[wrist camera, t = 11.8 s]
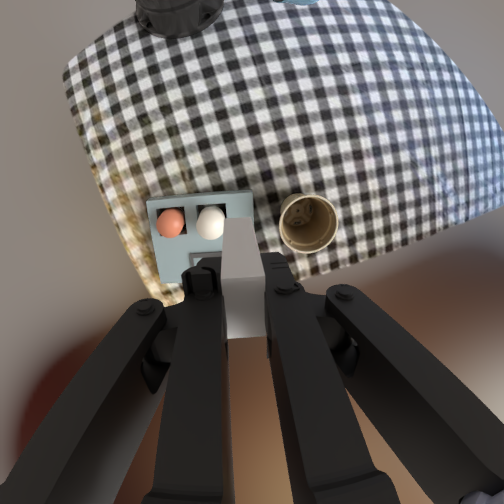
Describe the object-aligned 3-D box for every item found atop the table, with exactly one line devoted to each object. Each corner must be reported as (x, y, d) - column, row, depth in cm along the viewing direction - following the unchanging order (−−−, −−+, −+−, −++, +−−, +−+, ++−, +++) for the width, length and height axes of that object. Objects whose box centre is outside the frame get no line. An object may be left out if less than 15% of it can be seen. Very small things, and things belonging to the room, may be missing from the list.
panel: (150, 197, 46) (145, 202, 43) (251, 189, 47) (253, 193, 44) (163, 277, 53) (160, 284, 50) (254, 271, 54) (256, 279, 51)
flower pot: (261, 199, 48) (268, 213, 40) (309, 174, 46) (324, 184, 39) (284, 242, 51) (294, 263, 44) (329, 219, 50) (346, 236, 42)
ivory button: (197, 206, 45) (194, 213, 41) (224, 205, 45) (223, 211, 41) (200, 231, 47) (197, 240, 43) (225, 230, 47) (225, 238, 43)
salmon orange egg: (160, 207, 46) (154, 213, 43) (184, 205, 46) (180, 211, 43) (163, 230, 48) (158, 239, 44) (186, 228, 48) (183, 237, 45)
